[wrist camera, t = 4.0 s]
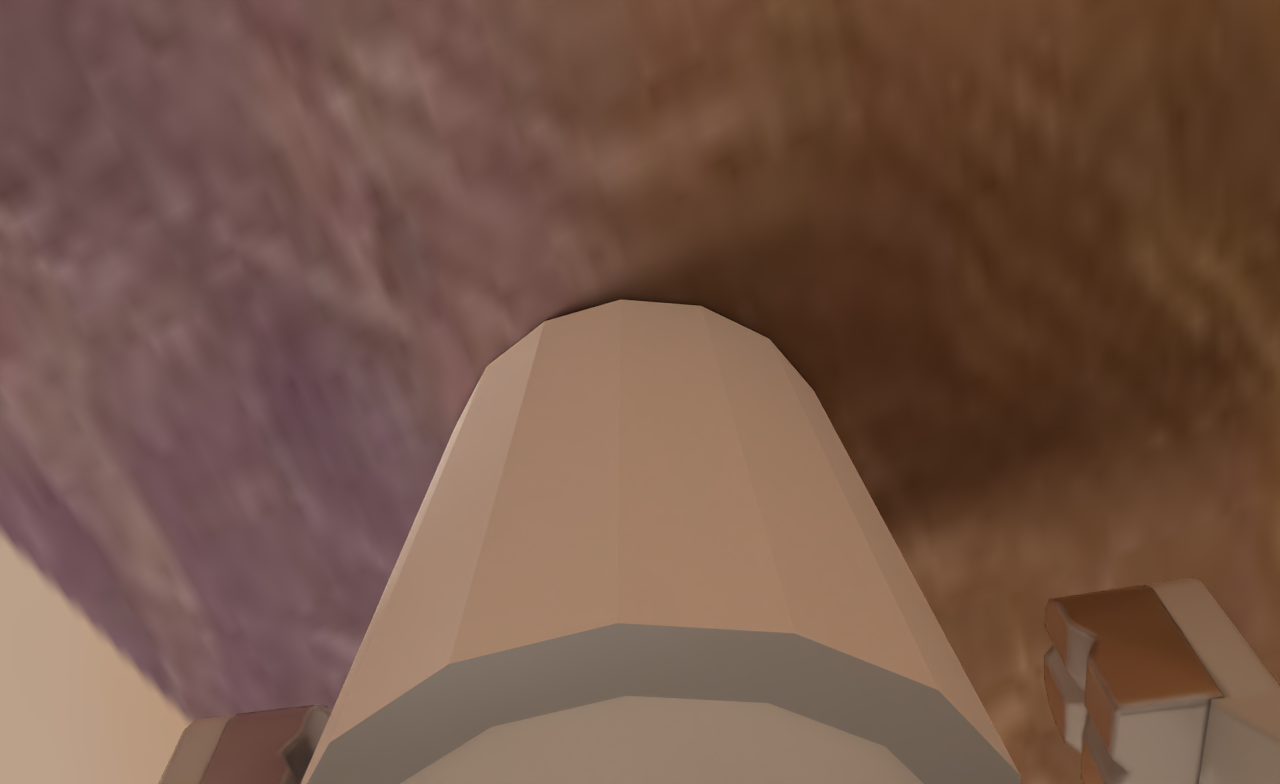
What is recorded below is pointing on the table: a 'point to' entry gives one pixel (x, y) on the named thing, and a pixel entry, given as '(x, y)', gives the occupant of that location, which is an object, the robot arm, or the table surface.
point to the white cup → (652, 586)
